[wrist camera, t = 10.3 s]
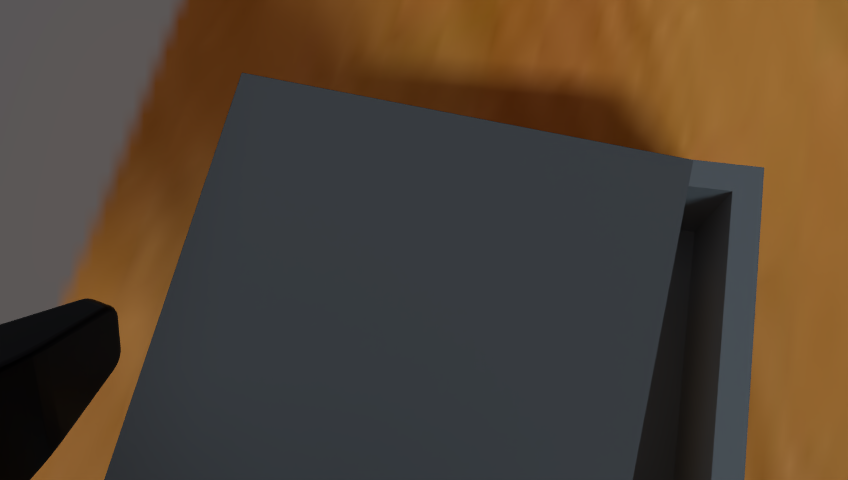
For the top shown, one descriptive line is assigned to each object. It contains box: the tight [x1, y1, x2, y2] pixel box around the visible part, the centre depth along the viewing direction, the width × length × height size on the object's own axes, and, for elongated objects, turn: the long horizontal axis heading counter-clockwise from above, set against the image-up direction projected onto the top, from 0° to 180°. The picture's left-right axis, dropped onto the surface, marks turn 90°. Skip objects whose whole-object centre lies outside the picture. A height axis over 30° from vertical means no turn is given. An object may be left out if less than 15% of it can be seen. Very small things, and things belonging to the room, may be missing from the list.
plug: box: [104, 73, 693, 480], centre depth 12 cm, size 4×4×13 cm
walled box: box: [633, 160, 764, 480], centre depth 17 cm, size 11×11×4 cm
